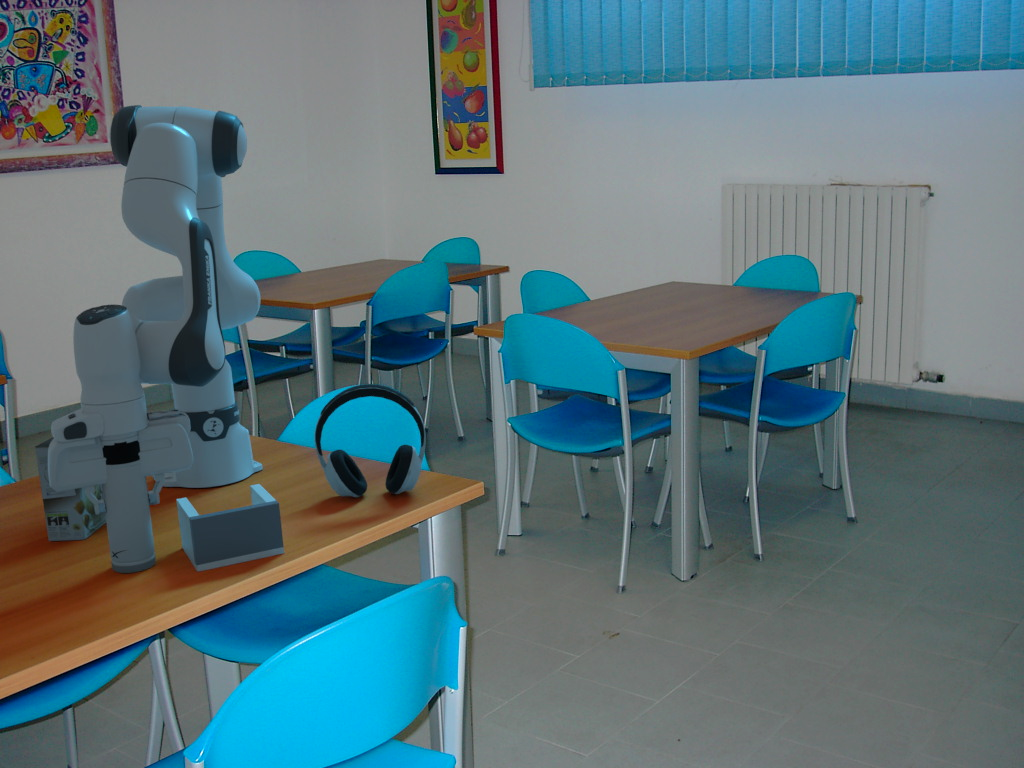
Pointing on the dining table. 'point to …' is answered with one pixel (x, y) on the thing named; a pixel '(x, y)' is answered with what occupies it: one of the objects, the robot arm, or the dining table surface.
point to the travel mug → (127, 509)
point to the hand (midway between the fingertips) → (127, 508)
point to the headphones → (342, 466)
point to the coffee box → (67, 505)
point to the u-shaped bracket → (231, 532)
